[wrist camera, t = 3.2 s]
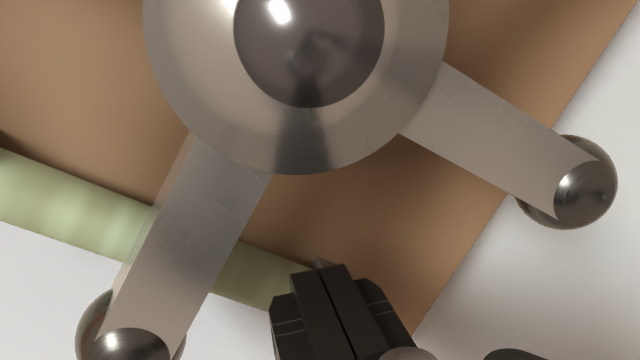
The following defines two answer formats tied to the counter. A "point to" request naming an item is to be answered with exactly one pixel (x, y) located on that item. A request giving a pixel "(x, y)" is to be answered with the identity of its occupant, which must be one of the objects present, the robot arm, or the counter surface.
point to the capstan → (310, 139)
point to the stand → (283, 190)
